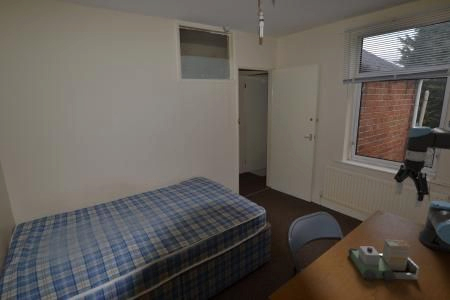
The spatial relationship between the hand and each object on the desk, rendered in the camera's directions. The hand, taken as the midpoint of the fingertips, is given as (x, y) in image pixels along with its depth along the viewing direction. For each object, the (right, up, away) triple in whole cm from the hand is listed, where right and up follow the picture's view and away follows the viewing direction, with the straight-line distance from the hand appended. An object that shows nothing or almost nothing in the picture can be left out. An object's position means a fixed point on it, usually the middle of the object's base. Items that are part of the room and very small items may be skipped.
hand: (407, 200), depth 114 cm
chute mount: (-13, -30, -8) cm, 34 cm away
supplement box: (-13, -30, -8) cm, 33 cm away
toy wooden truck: (-24, -30, -7) cm, 39 cm away
